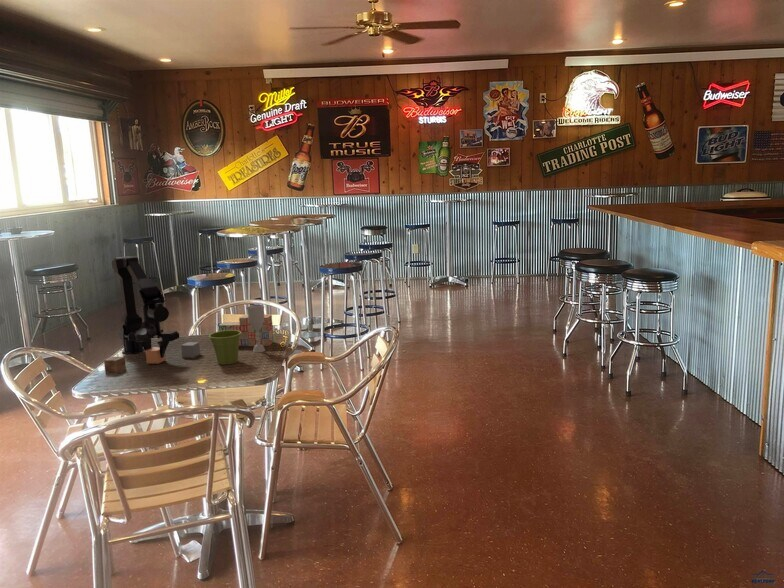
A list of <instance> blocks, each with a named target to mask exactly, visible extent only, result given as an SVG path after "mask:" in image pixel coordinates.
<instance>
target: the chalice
mask: <svg viewBox="0 0 784 588" xmlns="http://www.w3.org/2000/svg"><path fill="white" fill-rule="evenodd" d="M264 308H265V305H258V304H257V305H250V306H246V307H245V309H246V310H247V315H248V319H249V322H250V324H251V326H252V327H253V329H255V330H256V336H257V338H256V340H257V345H255V346H253V349H252V353H263V352H265V351H266V349H265V346H263V345H262V344H260V342H259V341H260V338H259V335H260V334H259V329H261V327H262V324H263V321H264V315H265V312H264V311H265V309H264Z"/></svg>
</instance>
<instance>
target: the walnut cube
mask: <svg viewBox="0 0 784 588" xmlns="http://www.w3.org/2000/svg"><path fill="white" fill-rule="evenodd" d="M103 363H104V371H105V374H116V375H117V374H120V373H122V372H125V371H126V370H127V365H126V357H125V356H111V357H108V358H106V359H104V360H103Z"/></svg>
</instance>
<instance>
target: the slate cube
mask: <svg viewBox="0 0 784 588" xmlns="http://www.w3.org/2000/svg"><path fill="white" fill-rule="evenodd" d="M180 349H181V357H182V358H186V359H187V358H191V359H193V358H196V357H198V356H200V355H201V347H200V342H198V341H197V342H196V341H195V342H193V341H190V342H189V341H187V342H185V343H183V344H181V345H180Z"/></svg>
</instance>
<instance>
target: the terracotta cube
mask: <svg viewBox="0 0 784 588" xmlns="http://www.w3.org/2000/svg"><path fill="white" fill-rule="evenodd" d="M144 352H145V358H146V364H160V363H163V362H164V361H166V360H167V357H166V353H165V354H164V357H163V358H161V356H160V347H158V346H153V347H152V346H151V348H150V349H148V350H146V351H145V350H144Z"/></svg>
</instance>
